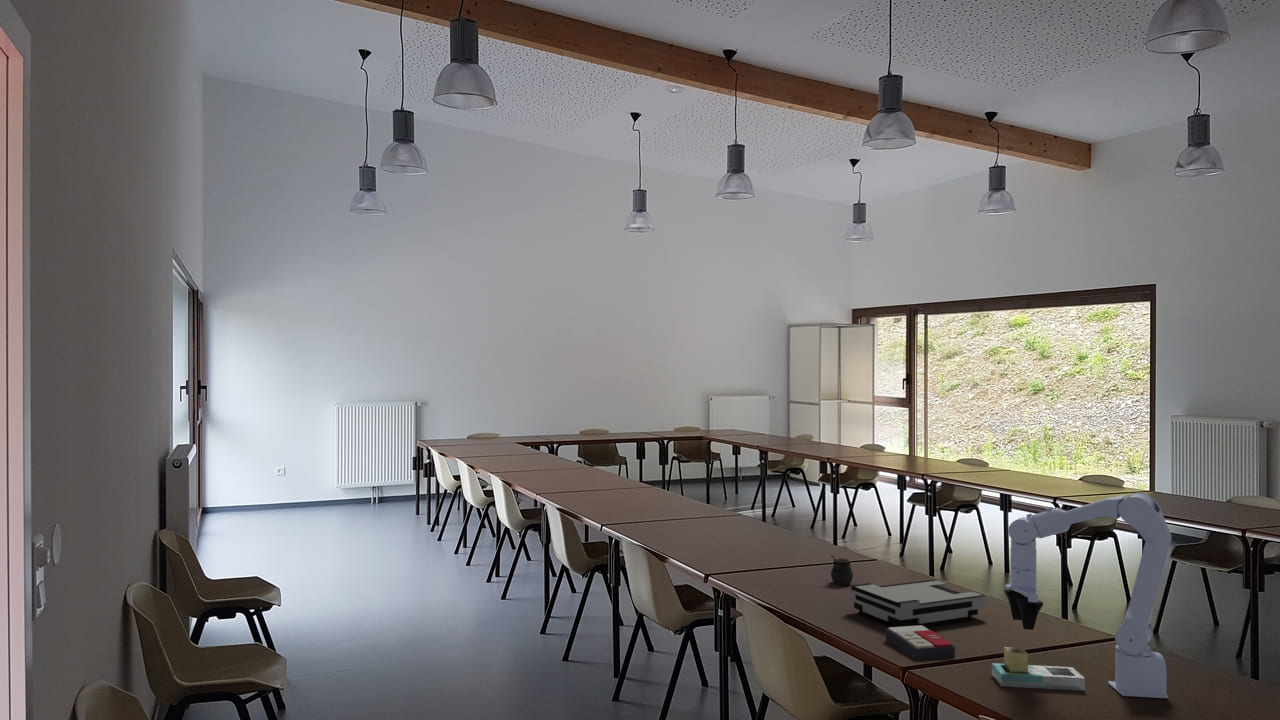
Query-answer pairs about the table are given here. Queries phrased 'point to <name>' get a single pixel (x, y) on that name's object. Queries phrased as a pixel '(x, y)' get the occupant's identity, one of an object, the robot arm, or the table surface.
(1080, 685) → the white teal tray block
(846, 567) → the mate gourd
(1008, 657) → the nut
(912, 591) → the game console
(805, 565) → the table surface
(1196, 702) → the table surface
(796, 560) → the table surface
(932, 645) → the calculator
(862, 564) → the table surface
